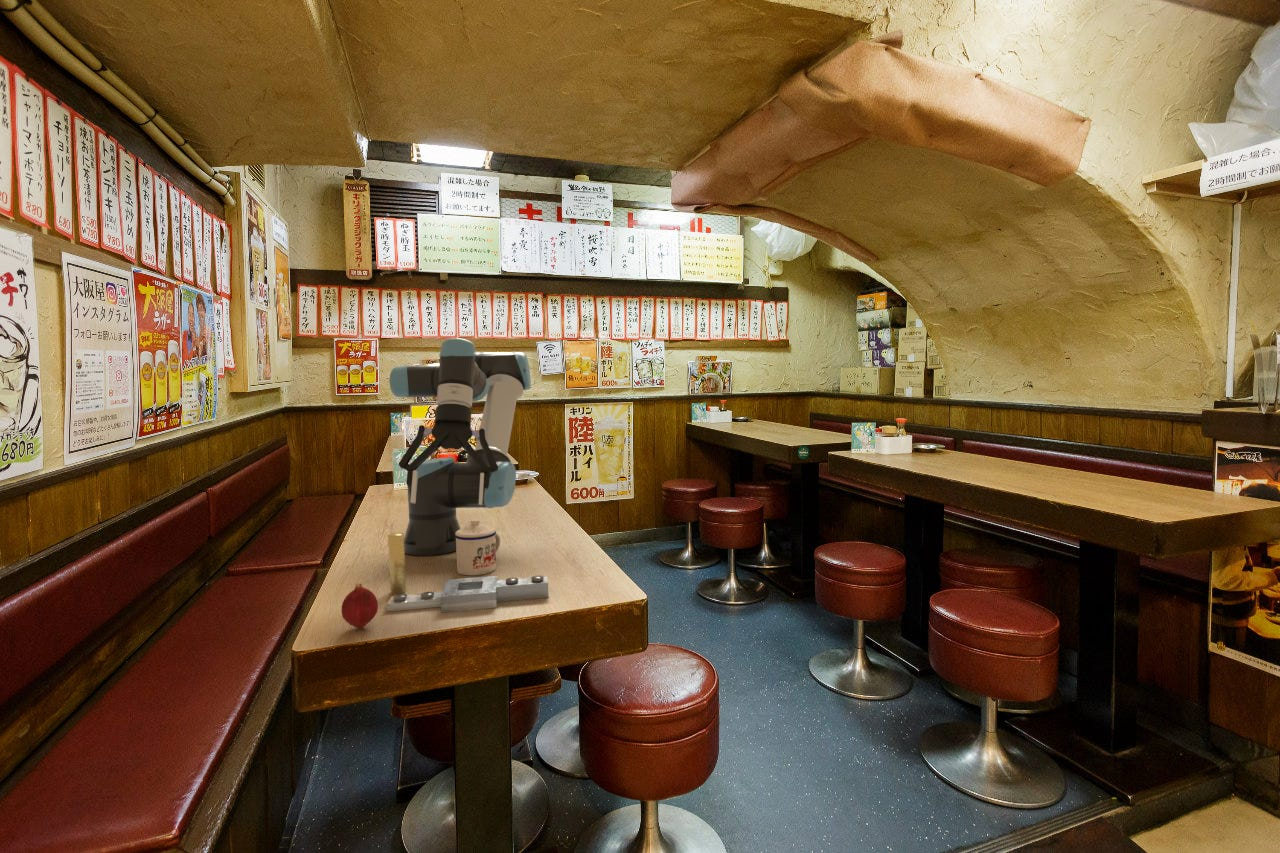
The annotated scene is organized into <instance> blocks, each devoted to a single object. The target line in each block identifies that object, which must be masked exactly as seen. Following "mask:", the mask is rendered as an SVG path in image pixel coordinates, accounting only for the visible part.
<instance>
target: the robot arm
mask: <svg viewBox="0 0 1280 853" xmlns="http://www.w3.org/2000/svg"><path fill="white" fill-rule="evenodd" d="M530 370H531V369H530V364H529V360H528V356H527V355H526V353H524V352H522V351H504V352H503V351H502V352H501V351H500V352H498V351H497V352H496V351H494V352H481V351H480V352H478V351H477V352H476V345H475V344H474V342H473V341H470V340H468V339H466V338H459V337H458V338H457V337H456V338H455V337H453V338H446V339H445V340H444V341H443V342H442V343H441V345H440V352H439V362H434V363H433V362H432V363H428V364H427V363H426V364H420V365H410V366H409V365H403V366H395V367H393V368H392V369H391V371H390V374H389V378H388V379H389V389H390V391H391V393H392V394H393V396H394V397H397V398H406V399H410V398H430V397H431V398H435V397H436V402H435V403H436V407H435V413H434V414H435V415H434V416H435V417H434V425H433V427H432V428H431V427H426V426H425V425H424V424H423V425H422V424H421V425H419V427H418V429H417V434H416V436H415V438H414V439H413V441H412V442H411V444H410V445H409V447H408V448H407V450H406V451H405V453H404V454H403V456H402V458H401V459H400V460H399V463H398V466H399V467H400V469H401V470H404V471H407V472H406V486H407V503H408V524H407V527H406V530H405V533H404V552H405V554H406V555H411V556H419V557H420V556H422V557H423V556H437V555H443V554H448V553H452V552H455V551H456V537H455V533H456V531H458V530H459V529H462V527H461V525H460V523H459V520H458V516H457V509H475V508H476V509H479V508H481V509H482V508H483V509H485V508H486V509H493V508H502V507H503V508H504V507H506V506H508V505H509V503H510V502H511V500H512V499H513V496H514V493H515V489H516V480H517V471H516V467H515V465H514V463H512V460H511V458H510V457H509V456H508V452H509V447H510V446H509V445H510V440H511V436H512V435H511V434H512V429H513V424H514V416H515V411H516V406H517V401H518V400H520V398H522V396H523V394H524V391H528V390H530V389H531V387H532V384H531V382H532V381H531V371H530ZM485 397H486V398H485ZM484 398H485V403H484V407H483V411H482V412H483V413H482V417H481V422H480V426H479V429H474V430H472V427H471V424H472V413H473V412H472V407H473V402H477V401H478V402H479V401H480V400H482V399H484ZM429 435H432V437H433V438H434V440H433V441H432V442H431V443H430V444H428V446H427V447H426V448H425V449H424V450H423V451H422V452H421V453H420V454H418V456H417V457H416V458H415V459H413V460H412V458H413V457H414V456H415V454H416V453H417V451H418V450H419V448H420V447H421V444H422V443H423V442H424V439H425V438H428V437H429ZM472 436H473V437H474V438H475V439H476V444H475V449H474V448H473V447H472V445H471V443H470V442H469V440H471V438H472ZM440 448H442V449H443V450H449V449H452V450H457V451H458V450H460V449H462V448H463V450H464V451H465V452H466V454H468V455H467V458H466V460H465V461H466V462H456V460H455V458H454V457H452V456H450V457H447V456H446V457H438V458H433V459H428V458H430V457H431V455H433V454H434V453H435V452H436V451H437V450H439V449H440ZM411 460H412V461H411ZM410 461H411V462H410Z"/></svg>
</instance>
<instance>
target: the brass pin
mask: <svg viewBox="0 0 1280 853" xmlns="http://www.w3.org/2000/svg"><path fill="white" fill-rule="evenodd" d="M404 537H405V533H404V532H393V533H392V532H391V533H389V534H387V544H388V545H387V546H388V548H387V549H388V563H389V564H388V566H389V568H388V569H389V571H388V572H389V587H390V590H389V591H390V593H389V594H391V595H398V594H405V593H406V592H407V579H406V562H405V561H406V559H405V558H406V556H405V554H406V553H405V552H404Z"/></svg>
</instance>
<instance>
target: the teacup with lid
mask: <svg viewBox="0 0 1280 853" xmlns="http://www.w3.org/2000/svg"><path fill="white" fill-rule="evenodd" d="M480 522H481V521H480V520H479V518H478V519H476V518H474V519H471V521H470V524H468V525H466V526H464V527H461V529H459V530H458V531H456V533H455V537H456V568H457V569H456V571H457V573H458V574H460V575H463V576H469V577H470V576H481V575H482V576H483V575H486V574H490V573H491V572H493V571H495V570H496V569H497V555H496V553H497V552H498V551H499V549H500V546H501V536H500V535H499V534H498V533H497V531H496V529H495V528H494V527H493V526H487V525H486V524H484V523H480Z"/></svg>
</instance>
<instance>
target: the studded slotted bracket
mask: <svg viewBox="0 0 1280 853" xmlns="http://www.w3.org/2000/svg"><path fill="white" fill-rule="evenodd" d="M544 598H545V599H546V598H547V599H548V598H549V581H548V576H546V575H545V576H543V575H533V576H531V577H524V578H518V577H515V576H513V577H508V578H506V579H500V580H498V575H491V576H489V575H488V576H478V577H477V576H476V577H465V578H455V579H454V578H451V579H449V578H448V579H446V580H445V583H444V586H443V589H442V591H440V592H434V591H424V592H422V593H418V594H417V593H416V594H407V593H402V594H394V595H393V596H390V598H389V600H388V602H387V603H386V606H387V607H386V609H387V610H386V611H387V612H396V611H397V612H398V611H409V610H421V609H433V607H434V608H440V610H441V611H440V613H441V612H442V613H450V612H451V613H452V612H462V611H474V610H486V609H495V608H497V604H498V603H500V602H512V601H522V600H523V601H524V600H533V599H534V600H535V599H544Z"/></svg>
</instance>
